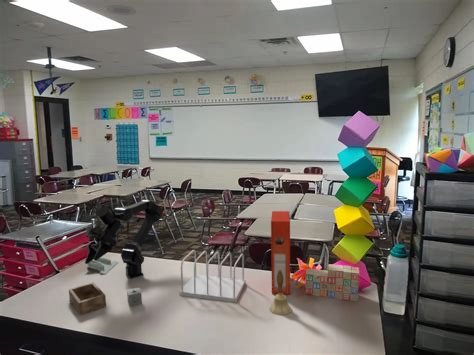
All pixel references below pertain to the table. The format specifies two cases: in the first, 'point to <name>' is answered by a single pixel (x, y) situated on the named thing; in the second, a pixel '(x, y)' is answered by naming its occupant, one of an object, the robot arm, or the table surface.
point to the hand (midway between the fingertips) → (90, 261)
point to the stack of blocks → (333, 282)
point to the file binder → (280, 249)
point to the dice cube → (134, 297)
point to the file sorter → (213, 282)
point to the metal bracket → (102, 265)
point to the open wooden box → (87, 298)
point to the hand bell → (280, 299)
